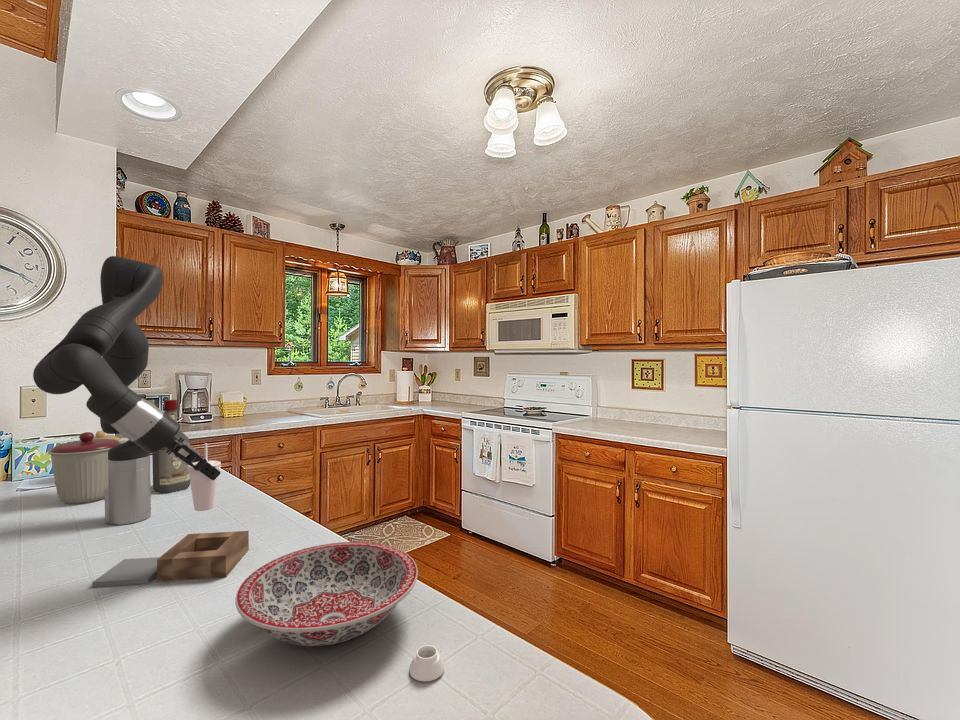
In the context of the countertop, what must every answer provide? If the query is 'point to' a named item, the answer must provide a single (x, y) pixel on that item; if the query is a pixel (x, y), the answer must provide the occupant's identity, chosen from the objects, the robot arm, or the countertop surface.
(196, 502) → the smoothie
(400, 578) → the ceramic bowl
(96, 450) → the canister
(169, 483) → the liquor
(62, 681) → the countertop surface
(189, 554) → the frame
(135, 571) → the slate coaster
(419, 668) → the lidless jar
